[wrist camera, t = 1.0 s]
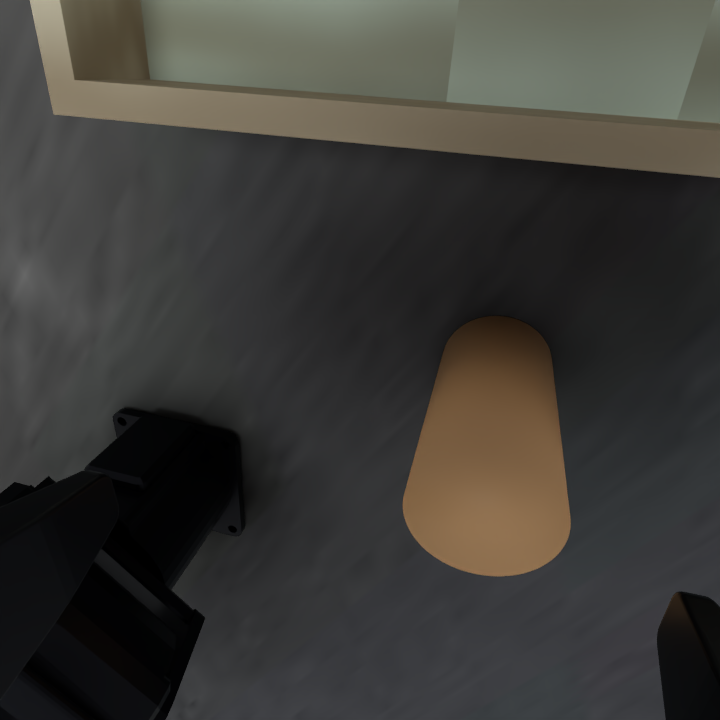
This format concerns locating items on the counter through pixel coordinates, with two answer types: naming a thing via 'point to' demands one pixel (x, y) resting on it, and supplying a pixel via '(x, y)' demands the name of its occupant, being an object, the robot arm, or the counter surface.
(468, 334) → the peg
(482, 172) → the counter surface
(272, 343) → the counter surface
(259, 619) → the counter surface
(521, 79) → the box
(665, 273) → the counter surface
